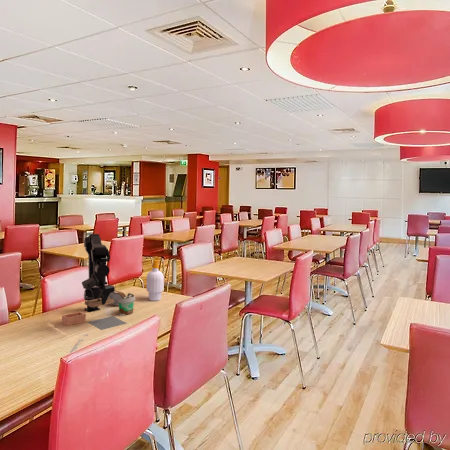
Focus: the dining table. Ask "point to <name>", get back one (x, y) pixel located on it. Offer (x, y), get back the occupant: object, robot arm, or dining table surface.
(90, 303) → the lid
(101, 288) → the robot arm
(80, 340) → the spoon
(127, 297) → the food container
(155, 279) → the soap bottle
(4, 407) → the dining table surface
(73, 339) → the dining table surface
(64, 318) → the dish
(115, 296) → the tin
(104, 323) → the mat
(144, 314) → the dining table surface
